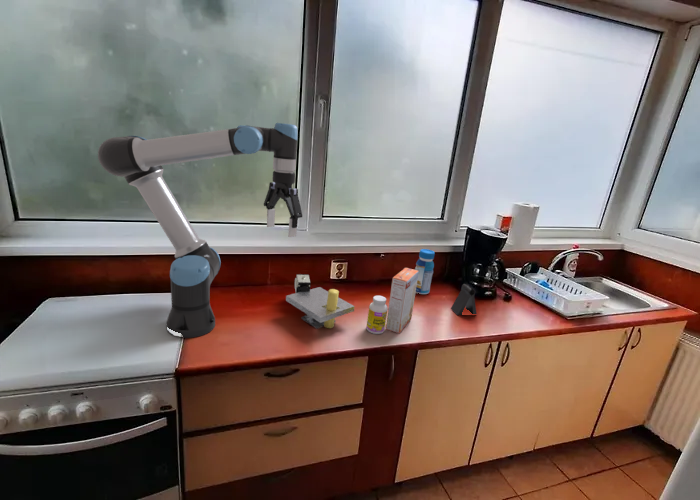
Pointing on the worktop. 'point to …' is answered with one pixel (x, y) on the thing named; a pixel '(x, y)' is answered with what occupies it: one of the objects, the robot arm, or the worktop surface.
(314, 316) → the gray slab
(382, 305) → the supplement bottle
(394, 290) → the cracker box
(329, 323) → the pin
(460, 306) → the phone stand
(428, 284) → the beverage bottle
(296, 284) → the pneumatic valve
